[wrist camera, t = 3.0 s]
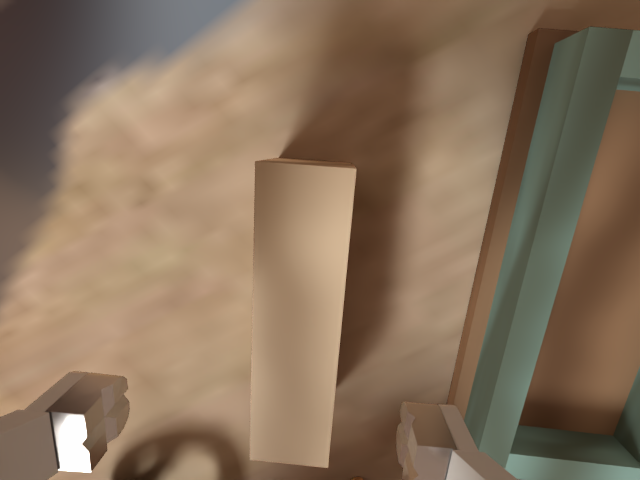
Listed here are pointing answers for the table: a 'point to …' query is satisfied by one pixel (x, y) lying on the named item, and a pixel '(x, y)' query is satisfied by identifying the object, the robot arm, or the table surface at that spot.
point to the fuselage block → (297, 305)
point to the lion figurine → (357, 478)
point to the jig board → (561, 270)
